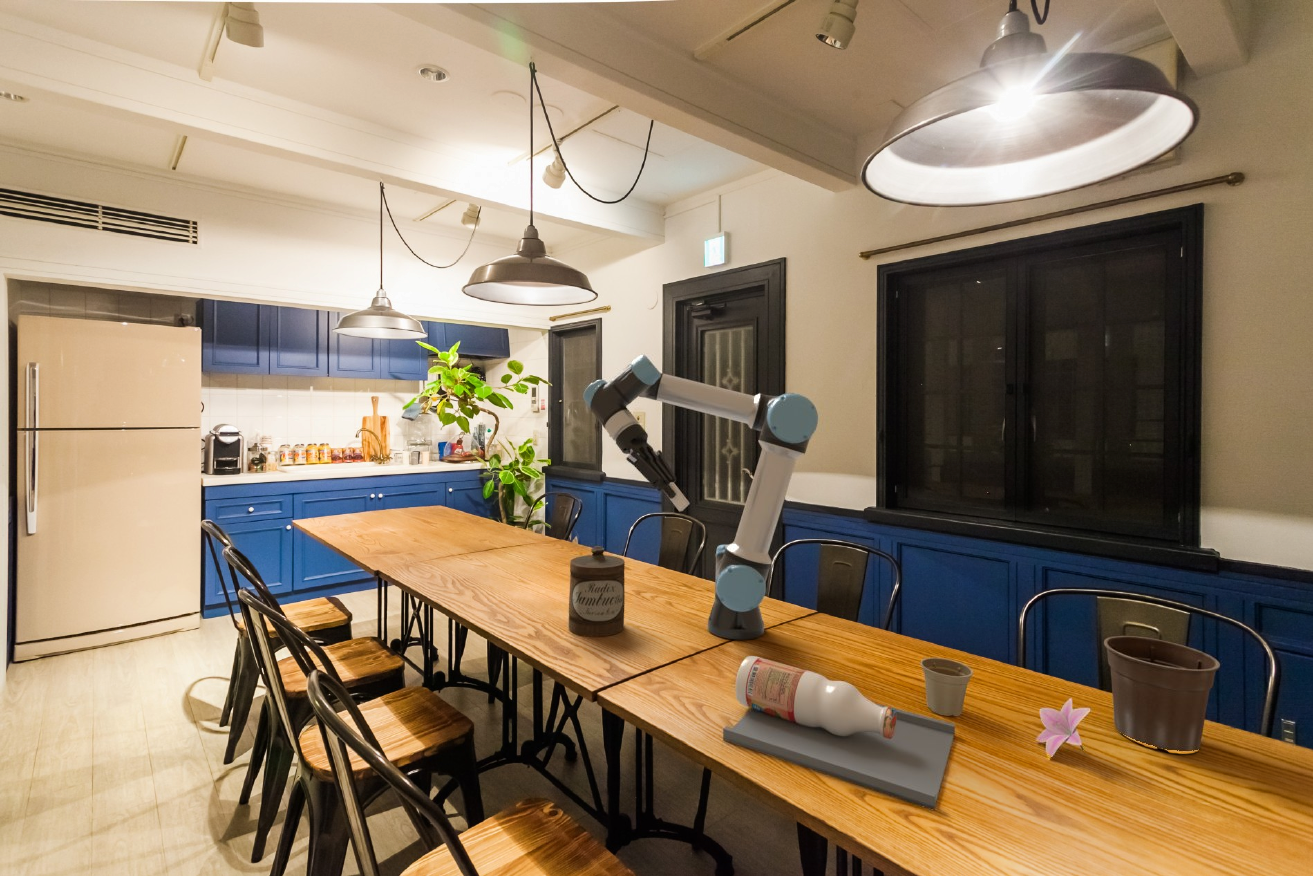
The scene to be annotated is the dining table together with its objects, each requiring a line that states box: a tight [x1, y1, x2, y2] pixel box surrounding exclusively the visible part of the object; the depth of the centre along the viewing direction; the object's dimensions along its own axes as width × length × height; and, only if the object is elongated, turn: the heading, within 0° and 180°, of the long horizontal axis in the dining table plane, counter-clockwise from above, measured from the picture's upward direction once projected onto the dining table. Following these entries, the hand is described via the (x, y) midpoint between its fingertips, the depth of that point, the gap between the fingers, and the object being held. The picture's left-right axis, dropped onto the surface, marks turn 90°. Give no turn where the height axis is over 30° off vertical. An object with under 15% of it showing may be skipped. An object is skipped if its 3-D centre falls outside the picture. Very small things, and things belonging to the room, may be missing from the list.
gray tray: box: [722, 702, 956, 811], centre depth 108 cm, size 34×26×2 cm
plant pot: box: [1103, 635, 1221, 751], centre depth 111 cm, size 16×16×16 cm
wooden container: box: [568, 545, 626, 638], centre depth 162 cm, size 15×15×22 cm
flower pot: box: [920, 657, 974, 717], centre depth 120 cm, size 9×9×9 cm
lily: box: [1036, 697, 1091, 758], centre depth 105 cm, size 11×11×9 cm
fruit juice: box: [734, 655, 896, 739], centre depth 111 cm, size 9×9×28 cm
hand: (684, 507), depth 139 cm, fingers closed
